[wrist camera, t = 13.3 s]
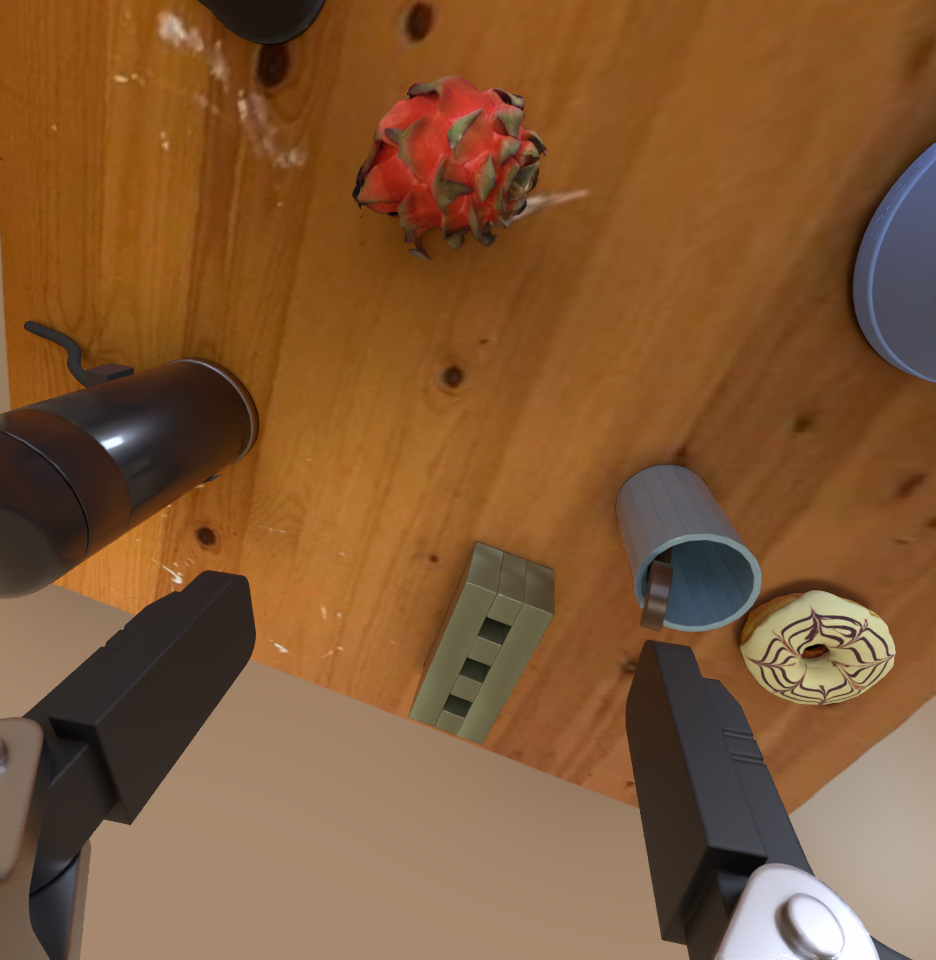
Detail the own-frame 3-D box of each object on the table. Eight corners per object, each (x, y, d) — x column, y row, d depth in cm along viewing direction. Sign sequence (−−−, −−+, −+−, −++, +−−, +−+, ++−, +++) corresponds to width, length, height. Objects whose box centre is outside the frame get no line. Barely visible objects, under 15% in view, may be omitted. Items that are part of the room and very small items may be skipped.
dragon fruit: (562, 176, 33) (399, 208, 37) (542, 15, 26) (343, 74, 30) (551, 263, 29) (370, 288, 33) (525, 100, 22) (298, 157, 26)
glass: (604, 534, 42) (620, 617, 32) (630, 456, 38) (656, 522, 29) (692, 553, 41) (733, 642, 32) (725, 475, 38) (782, 549, 29)
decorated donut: (800, 559, 40) (823, 588, 37) (903, 623, 41) (935, 657, 38) (709, 639, 44) (723, 671, 41) (805, 695, 45) (825, 731, 42)
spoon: (668, 535, 40) (660, 646, 28) (650, 531, 40) (635, 639, 29) (679, 490, 38) (675, 590, 27) (660, 487, 38) (648, 583, 27)
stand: (422, 668, 51) (407, 717, 46) (476, 540, 44) (466, 581, 38) (489, 693, 51) (482, 745, 46) (554, 570, 44) (554, 615, 39)
